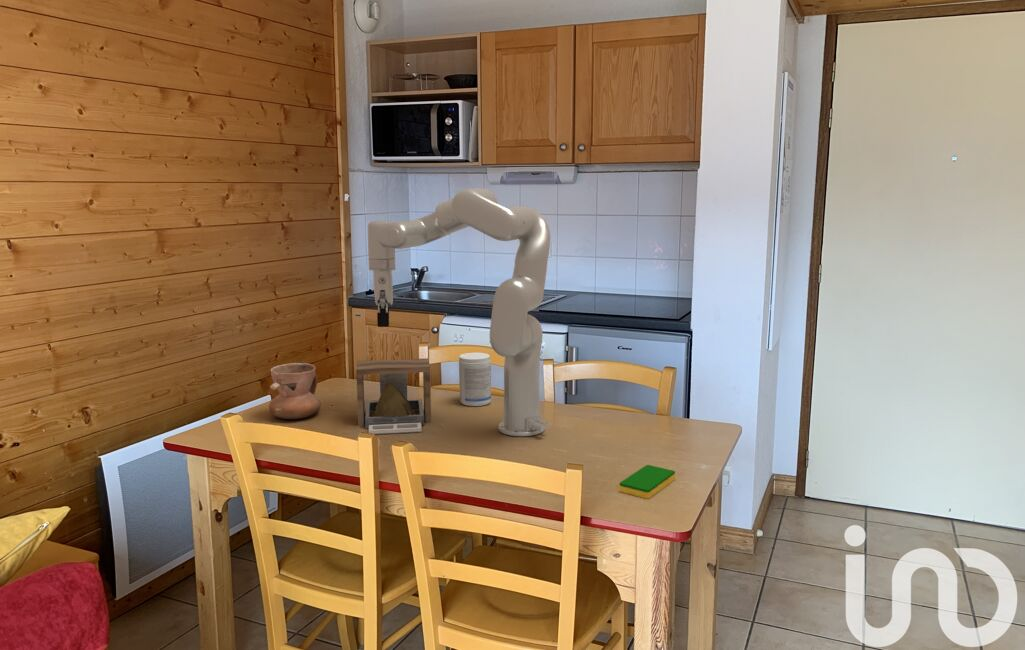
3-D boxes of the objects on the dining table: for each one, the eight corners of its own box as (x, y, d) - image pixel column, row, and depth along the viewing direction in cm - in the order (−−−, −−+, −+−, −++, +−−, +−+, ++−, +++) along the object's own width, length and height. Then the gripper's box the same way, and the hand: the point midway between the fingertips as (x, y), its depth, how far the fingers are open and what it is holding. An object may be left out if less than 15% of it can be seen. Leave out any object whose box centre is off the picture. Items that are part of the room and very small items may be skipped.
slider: (424, 424, 215) (423, 392, 213) (365, 427, 212) (364, 395, 210) (420, 399, 239) (419, 370, 237) (367, 402, 236) (366, 372, 235)
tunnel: (431, 422, 218) (429, 366, 215) (358, 425, 215) (356, 369, 212) (429, 411, 228) (428, 358, 225) (359, 415, 225) (357, 361, 222)
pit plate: (421, 432, 209) (421, 428, 209) (368, 435, 207) (368, 430, 207) (420, 426, 214) (420, 422, 214) (369, 429, 212) (369, 425, 212)
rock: (424, 408, 223) (399, 398, 229) (413, 390, 217) (388, 380, 223) (400, 437, 218) (376, 426, 224) (388, 419, 212) (364, 408, 218)
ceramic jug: (294, 427, 214) (291, 377, 211) (255, 420, 220) (252, 371, 217) (337, 410, 229) (335, 363, 227) (299, 403, 236) (297, 358, 233)
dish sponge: (675, 480, 177) (675, 470, 177) (648, 500, 166) (648, 490, 166) (646, 474, 181) (647, 464, 181) (618, 493, 170) (618, 482, 170)
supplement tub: (497, 402, 237) (497, 355, 234) (474, 409, 230) (474, 360, 228) (476, 396, 244) (475, 350, 241) (453, 402, 237) (452, 355, 234)
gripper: (395, 268, 214) (396, 329, 217) (395, 261, 231) (396, 317, 234) (367, 268, 213) (369, 329, 216) (369, 261, 230) (370, 318, 233)
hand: (383, 323), depth 225 cm, fingers open, 9 cm apart
